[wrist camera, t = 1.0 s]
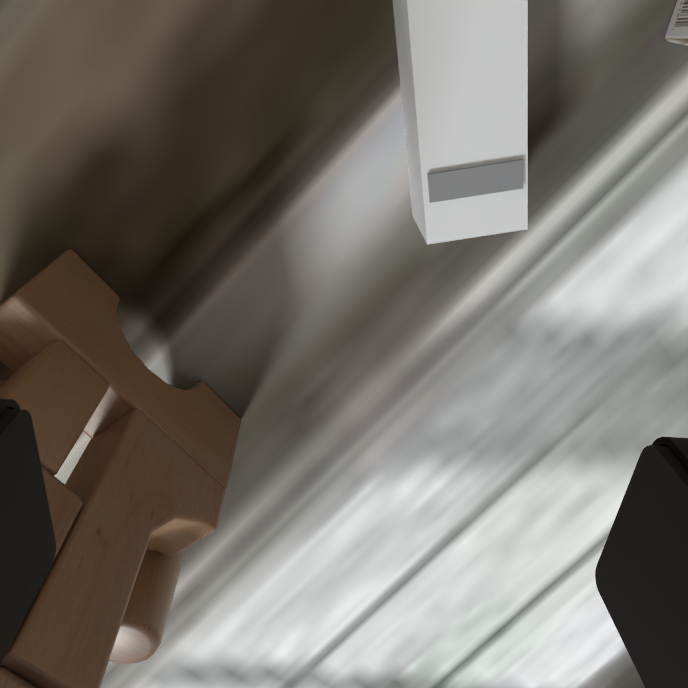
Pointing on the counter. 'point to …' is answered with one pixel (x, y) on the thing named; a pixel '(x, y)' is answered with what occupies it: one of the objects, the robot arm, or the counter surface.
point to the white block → (465, 114)
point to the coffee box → (678, 24)
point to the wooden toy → (105, 477)
